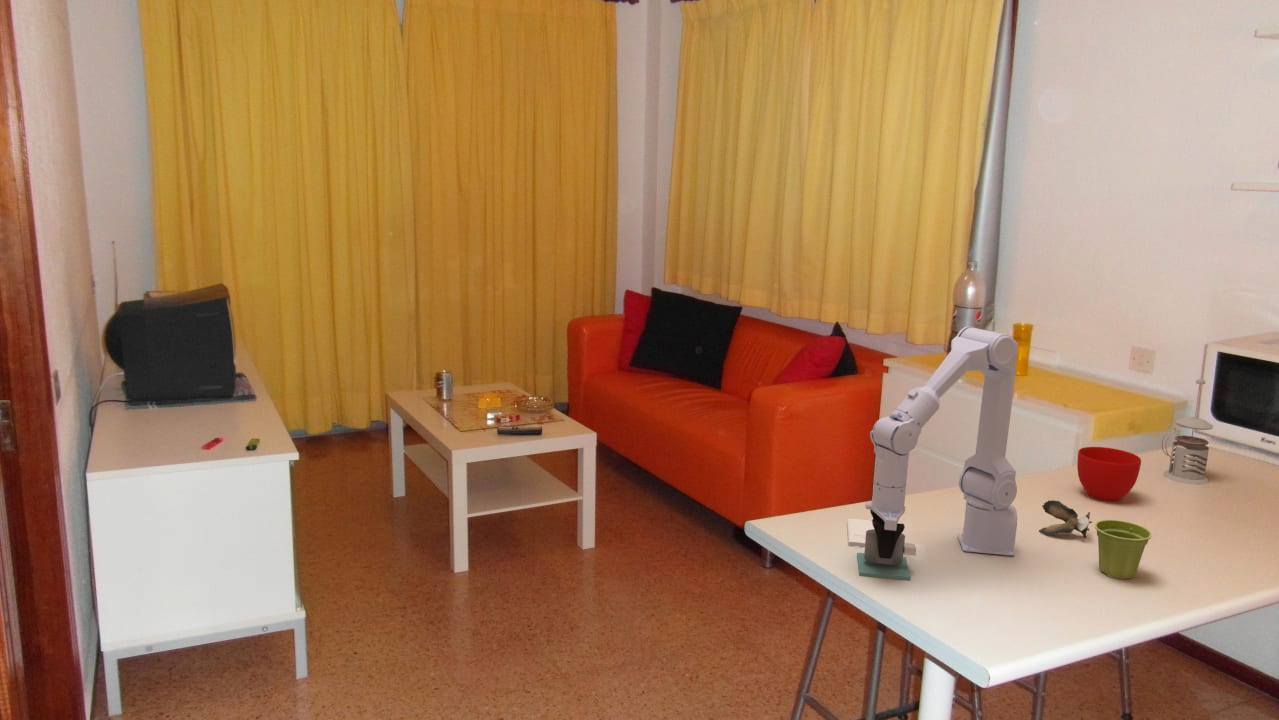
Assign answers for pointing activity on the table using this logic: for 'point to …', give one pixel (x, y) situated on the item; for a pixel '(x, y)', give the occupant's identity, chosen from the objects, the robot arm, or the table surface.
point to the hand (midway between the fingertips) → (884, 552)
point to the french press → (1189, 451)
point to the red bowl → (1107, 472)
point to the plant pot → (1120, 547)
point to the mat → (883, 569)
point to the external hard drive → (858, 531)
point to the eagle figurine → (1065, 519)
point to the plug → (899, 551)
